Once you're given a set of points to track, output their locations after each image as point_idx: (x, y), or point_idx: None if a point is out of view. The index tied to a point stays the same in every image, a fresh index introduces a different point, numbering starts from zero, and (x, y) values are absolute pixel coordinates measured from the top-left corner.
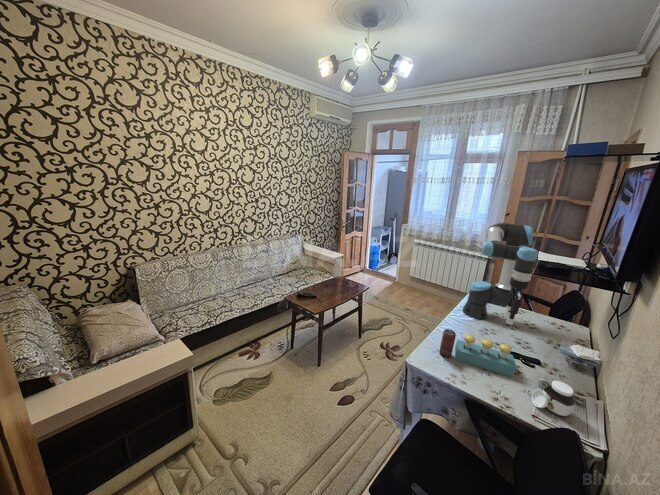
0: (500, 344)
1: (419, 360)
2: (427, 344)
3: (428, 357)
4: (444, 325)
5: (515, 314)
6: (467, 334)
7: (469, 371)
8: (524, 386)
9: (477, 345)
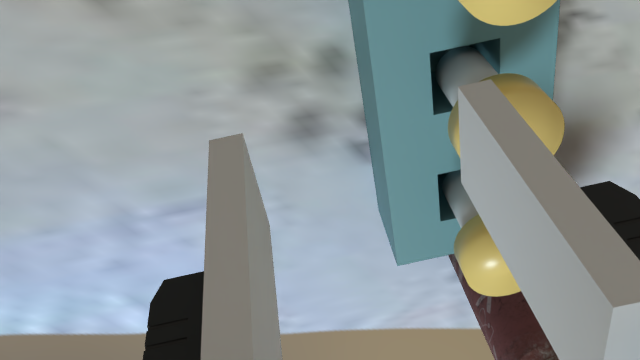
0: (499, 24)
1: None
2: (435, 322)
3: None
4: (122, 327)
5: (637, 261)
6: (475, 287)
7: (591, 88)
8: None
9: (387, 143)
